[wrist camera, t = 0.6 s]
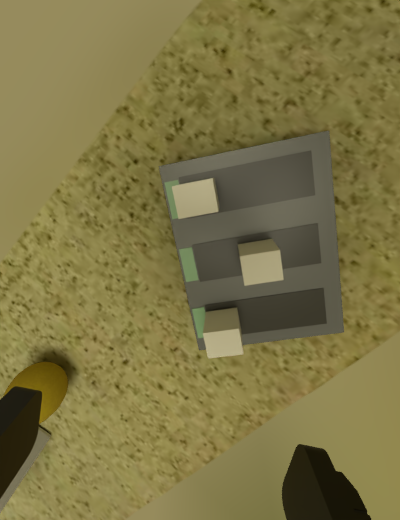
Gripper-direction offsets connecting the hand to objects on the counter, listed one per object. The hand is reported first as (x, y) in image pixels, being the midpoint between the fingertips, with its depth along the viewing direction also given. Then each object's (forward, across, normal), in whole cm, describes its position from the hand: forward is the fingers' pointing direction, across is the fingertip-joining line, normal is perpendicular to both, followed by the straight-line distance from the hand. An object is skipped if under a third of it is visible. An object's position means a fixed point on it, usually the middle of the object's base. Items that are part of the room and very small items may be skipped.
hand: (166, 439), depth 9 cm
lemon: (+24, +13, +17) cm, 32 cm away
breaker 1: (+19, +1, -7) cm, 20 cm away
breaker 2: (+19, -4, +4) cm, 20 cm away
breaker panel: (+22, -6, -3) cm, 23 cm away
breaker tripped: (+18, -5, -3) cm, 19 cm away
